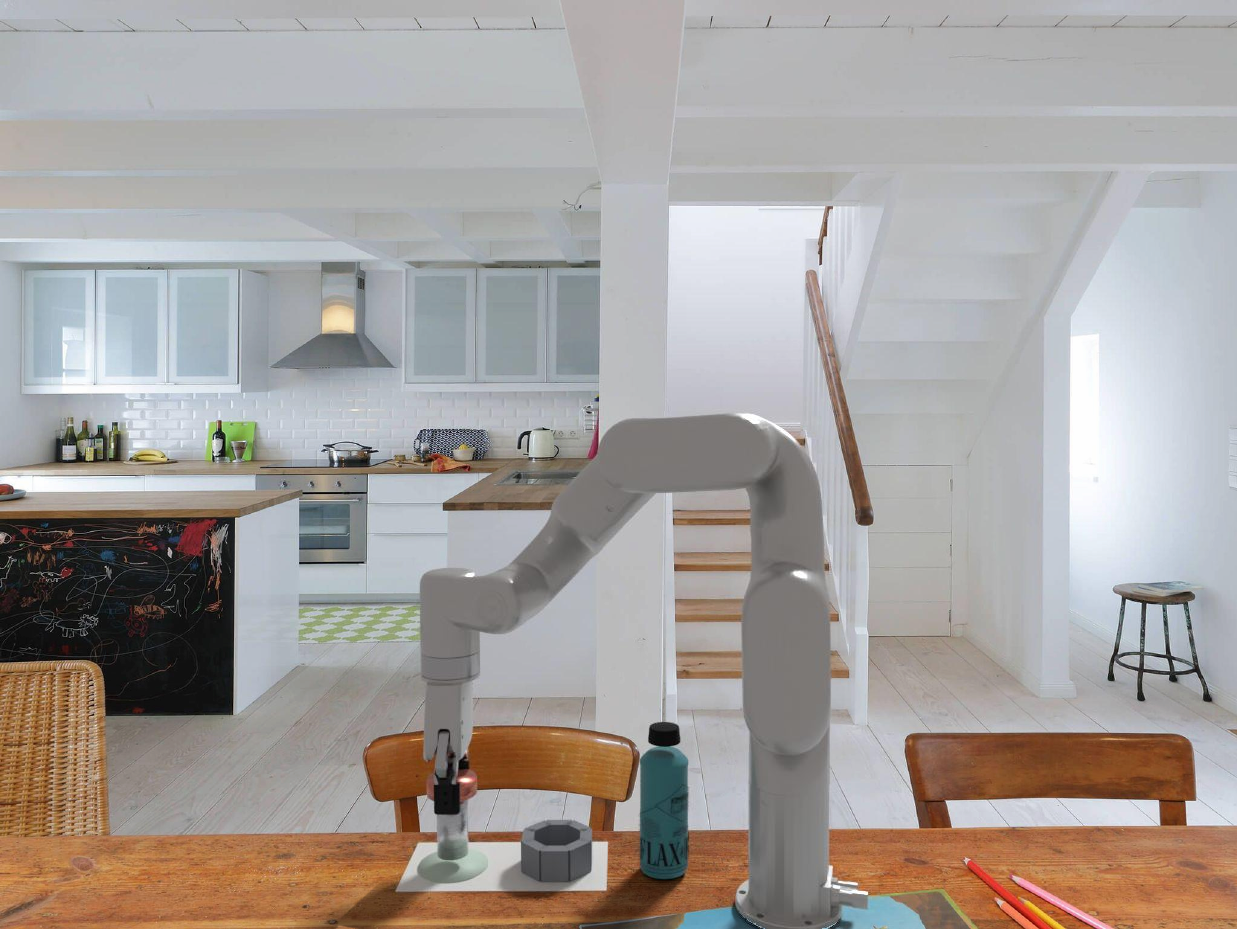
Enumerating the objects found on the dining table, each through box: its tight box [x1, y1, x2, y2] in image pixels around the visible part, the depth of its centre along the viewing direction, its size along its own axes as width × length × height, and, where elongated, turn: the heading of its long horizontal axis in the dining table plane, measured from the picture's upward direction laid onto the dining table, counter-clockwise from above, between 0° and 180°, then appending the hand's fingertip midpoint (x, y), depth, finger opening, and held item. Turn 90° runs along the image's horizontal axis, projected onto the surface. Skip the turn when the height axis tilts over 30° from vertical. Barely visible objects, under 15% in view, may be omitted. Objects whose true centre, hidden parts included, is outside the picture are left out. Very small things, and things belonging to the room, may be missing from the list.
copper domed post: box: [426, 768, 478, 860], centre depth 119 cm, size 6×6×10 cm
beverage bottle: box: [638, 721, 690, 880], centre depth 117 cm, size 6×7×20 cm
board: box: [395, 819, 609, 893], centre depth 119 cm, size 26×13×5 cm, turn 90°
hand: (452, 800), depth 119 cm, fingers closed on copper domed post, 6 cm apart
